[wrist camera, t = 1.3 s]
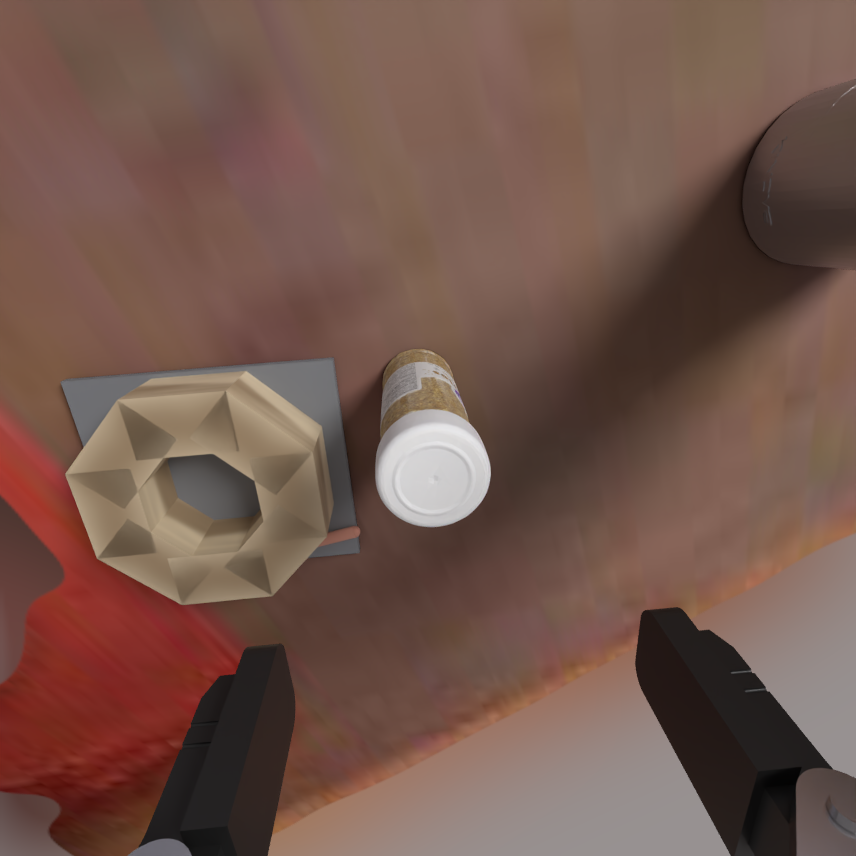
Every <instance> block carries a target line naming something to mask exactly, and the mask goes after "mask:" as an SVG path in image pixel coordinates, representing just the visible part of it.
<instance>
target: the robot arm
mask: <svg viewBox="0 0 856 856" xmlns="http://www.w3.org/2000/svg"><path fill="white" fill-rule="evenodd" d="M742 206H743V213H744V221H745V224H746V226H747V229H748V232H749V234H750V237H751V238H752V239H753V241H754V242H755V244H756V245H757V246H758V248H759V249H760V250H762V251H763V252H764V253H765V254H766V255H768V256H769V257H771V258H773V259H775V260H777V261H780V262H782V263H788V264H794V265H804V266H815V267H827V268H838V269H846V270H856V79H854V80H851V81H848V82H845V83H841V84H838V85H835V86H832V87H829V88H826V89H823V90H820V91H817V92H814V93H813V94H811V95H809V96H807V97H805V98H803V99H801V100H800V101H798V102H797V103H795V104H794V105H793V106H792V107H790V108H789V109H788V110H787V111H785V112H784V113H783V114H782V115H781V116H780V117H779V118H778V119H777V120H776V121H775V123H774V124H773V125H772V126H771V127H770V128H769V129H768V130H767V132H766V134H765V135H764V137H763V138H762V140H761V141H760V143H759V145H758V146H757V148H756V150H755V152H754V155H753V157H752V159H751V161H750V164H749V166H748V169H747V174H746V178H745V182H744V186H743V201H742ZM635 665H636V672H637V677H638V681H639V684H640V686H641V689H642V691H643V693H644V695H645V697H646V699H647V701H648V702H649V704H650V706H651V708H652V710H653V712H654V714H655V715H656V717H657V719H658V721H659V723H660V725H661V727H662V729H663V730H664V732H665V734H666V736H667V738H668V740H669V742H670V743H671V745H672V747H673V749H674V751H675V753H676V754H677V756H678V758H679V760H680V762H681V764H682V766H683V768H684V769H685V771H686V773H687V775H688V777H689V778H690V780H691V782H692V784H693V786H694V788H695V790H696V792H697V794H698V795H699V797H700V799H701V801H702V803H703V805H704V807H705V808H706V810H707V812H708V814H709V816H710V818H711V820H712V821H713V823H714V825H715V827H716V829H717V831H718V833H719V834H720V836H721V838H722V840H723V842H724V844H725V845H726V847H727V849H728V851H729V853H730V855H731V856H856V778H854V777H851V776H849V775H847V774H845V773H842V772H839V771H836V770H833V769H832V767H831V766H830V765H829V764H828V763H827V762H826V761H825V759H824V758H823V757H822V756H821V755H820V753H819V752H818V751H817V750H816V748H815V747H814V746H813V745H812V743H811V742H810V741H809V740H808V739H807V737H806V736H805V735H804V734H803V732H802V731H801V730H800V729H799V727H798V726H797V725H796V724H795V722H794V721H793V720H792V719H791V718H790V716H789V715H788V714H787V713H786V711H785V710H784V709H783V708H782V707H781V705H780V704H779V703H778V702H777V700H776V699H775V698H774V697H773V695H772V694H771V693H770V692H767V691H766V687H765V686H764V684H763V683H762V682H761V681H760V679H759V678H758V677H757V676H756V674H755V673H752V672H751V668H750V667H749V666H748V665H747V664H746V662H745V661H744V660H743V659H742V657H741V656H740V655H739V654H738V652H737V651H736V650H735V649H734V647H732V646H731V645H729V644H728V643H727V642H725V641H724V640H723V639H721V638H720V637H718V636H717V635H715V634H714V633H713V632H712V631H710V630H702V631H699V630H698V629H697V628H696V626H695V625H694V624H693V622H692V621H691V620H690V618H689V617H688V616H687V614H686V613H685V612H684V611H683V610H682V609H680V608H678V607H675V608H665V609H654V610H645V611H643V613H642V615H641V620H640V628H639V636H638V644H637V652H636V661H635ZM294 720H295V694H294V689H293V684H292V680H291V675H290V671H289V666H288V662H287V657H286V653H285V649H284V646H283V645H282V644H273V645H262V646H252V647H247V648H246V649H245V650H244V652H243V654H242V657H241V660H240V663H239V665H238V668H237V671H236V674H234V675H224V676H220V677H219V678H218V679H217V680H216V681H215V683H214V684H213V685H212V686H211V687H210V689H209V690H208V691H207V692H206V693H205V695H204V696H203V697H202V698H201V700H200V703H199V705H198V708H197V710H196V713H195V715H194V717H193V720H192V722H191V728H189V730H188V732H187V734H186V737H185V739H184V742H183V744H182V745H183V747H182V750H180V752H179V754H178V756H177V759H176V761H175V764H174V766H173V769H172V771H171V773H170V776H169V778H168V781H167V783H166V786H165V788H164V791H163V793H162V795H161V798H160V800H159V803H158V805H157V808H156V810H155V812H154V815H153V817H152V820H151V822H150V825H149V827H148V830H147V832H146V834H145V836H144V838H143V840H142V842H141V844H140V845H139V847H138V849H136V850H135V851H133V852H132V853H130V854H129V855H128V856H268V850H269V846H270V841H271V836H272V831H273V826H274V821H275V816H276V811H277V806H278V801H279V796H280V791H281V786H282V781H283V777H284V772H285V767H286V762H287V757H288V752H289V747H290V742H291V737H292V732H293V727H294Z"/></svg>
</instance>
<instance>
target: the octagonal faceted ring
mask: <svg viewBox="0 0 856 856" xmlns="http://www.w3.org/2000/svg"><path fill="white" fill-rule="evenodd" d="M203 454H214V455H216V456H217V457H219V458H220V459H222V460H223V461H225V462H226V463H228V464H229V465H231V466H232V467H234V468H235V469H237V470H239V471H240V472H242V473H243V474H245V475H246V476H248V477H249V478H251V479H252V480H254V481H255V485H256V490H257V494H258V499H259V503H260V508H261V509H260V510H259V512H258V513H257V514H256V515H255V516H252V517H241V518H231V519H220V520H213V519H212V518H210V517H208V516H207V515H205V514H203V513H202V512H200V511H198V510H197V509H195V508H194V507H192V506H190V505H189V504H187V503H185V502H184V501H182V500H181V499H179V498H178V496H177V492H176V489H175V486H174V482H173V479H172V475H171V472H170V468H169V465H168V459H169V458H170V457H181V456H192V455H203ZM65 475H66V478H67V480H68V483H69V486H70V488H71V491H72V493H73V496H74V499H75V501H76V504H77V507H78V509H79V512H80V515H81V517H82V520H83V522H84V525H85V528H86V530H87V533H88V536H89V538H90V541H91V544H92V546H93V549H94V551H95V554H96V557H97V559H99V560H100V561H102V562H104V563H106V564H108V565H110V566H111V567H113V568H115V569H117V570H119V571H121V572H122V573H124V574H126V575H128V576H130V577H132V578H133V579H135V580H137V581H139V582H141V583H143V584H144V585H146V586H148V587H150V588H152V589H154V590H155V591H157V592H159V593H161V594H163V595H165V596H166V597H168V598H170V599H172V600H174V601H176V602H177V603H179V604H181V605H188V604H198V603H208V602H218V601H228V600H238V599H248V598H258V597H268V596H273V595H274V594H275V593H276V592H277V591H278V590H279V588H280V587H281V586H282V585H283V584H284V583H285V582H286V581H287V580H288V579H289V578H290V576H291V575H292V574H293V573H294V572H295V571H296V570H297V569H298V568H299V567H300V566H301V564H302V563H303V562H304V561H305V560H306V559H307V558H308V557H309V556H310V555H311V554H312V552H313V551H314V550H315V549H316V548H317V547H318V546H319V545H320V544H321V543H322V542H323V540H324V539H325V538H326V537H327V534H328V529H329V524H330V519H331V515H332V510H333V505H334V500H333V494H332V488H331V481H330V475H329V469H328V462H327V456H326V450H325V443H324V437H323V430H322V426H321V425H319V424H318V423H317V422H315V421H314V420H313V419H311V418H310V417H309V416H307V415H306V414H304V413H303V412H302V411H300V410H299V409H298V408H296V407H295V406H293V405H292V404H291V403H289V402H288V401H287V400H285V399H284V398H283V397H281V396H280V395H278V394H277V393H276V392H274V391H273V390H272V389H270V388H269V387H267V386H266V385H265V384H263V383H262V382H261V381H259V380H258V379H257V378H255V377H254V376H252V375H251V374H250V373H248V372H247V371H239V372H227V373H215V374H203V375H190V376H178V377H166V378H154V379H150V380H148V381H147V382H145V383H144V384H142V385H140V386H139V387H137V388H136V389H134V390H132V391H131V392H129V393H128V394H126V395H124V396H123V397H121V398H120V399H118V400H117V401H116V402H115V404H114V405H113V407H112V408H111V410H110V411H109V412H108V414H107V415H106V417H105V418H104V420H103V421H102V422H101V424H100V425H99V427H98V428H97V430H96V431H95V432H94V434H93V435H92V437H91V438H90V440H89V441H88V442H87V444H86V445H85V447H84V448H83V450H82V451H81V452H80V454H79V455H78V457H77V458H76V460H75V461H74V462H73V464H72V465H71V467H70V468H69V470H68V471H67V472H66V474H65Z"/></svg>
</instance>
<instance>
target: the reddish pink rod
mask: <svg viewBox="0 0 856 856" xmlns="http://www.w3.org/2000/svg"><path fill="white" fill-rule="evenodd" d="M359 535H360V528H359V527H357V526H351V527H347V528H343V529H339V530H335V531H331V532H328V534H327V537H326V538H325V539H324V540H323V542H322V543H321V544H320V545H319V546H318V547H320V546H324V545H328V544H332V543H336V542H340V541H344V540H348V539H352V538H356V537H358V536H359Z"/></svg>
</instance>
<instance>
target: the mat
mask: <svg viewBox="0 0 856 856" xmlns="http://www.w3.org/2000/svg"><path fill="white" fill-rule="evenodd" d="M239 371H247V372H248V373H250V374H251V375H252V376H254V377H255V378H257V379H258V380H259V381H261V382H262V383H263V384H265V385H266V386H267V387H269V388H270V389H272V390H273V391H274V392H276V393H277V394H278V395H280V396H281V397H283V398H284V399H285V400H287V401H288V402H289V403H291V404H292V405H293V406H295V407H296V408H298V409H299V410H300V411H302V412H303V413H304V414H306V415H307V416H309V417H310V418H311V419H313V420H314V421H315V422H317V423H318V424H319V425H321V426H322V430H323V437H324V443H325V450H326V456H327V462H328V469H329V475H330V481H331V488H332V494H333V500H334V505H333V510H332V515H331V519H330V524H329V529H328V532H331V531H335V530H339V529H343V528H347V527H351V526H357V522H356V514H355V507H354V500H353V493H352V486H351V479H350V471H349V464H348V457H347V450H346V443H345V436H344V428H343V421H342V414H341V407H340V400H339V393H338V386H337V378H336V371H335V364H334V357H333V358H321V359H308V360H296V361H284V362H271V363H259V364H247V365H234V366H222V367H210V368H197V369H185V370H173V371H160V372H148V373H136V374H123V375H111V376H99V377H86V378H74V379H66V380H64V381H61V385H62V388H63V390H64V393H65V396H66V399H67V402H68V404H69V407H70V410H71V413H72V416H73V418H74V421H75V424H76V427H77V430H78V433H79V435H80V438H81V441H82V444H83V447H85V445H86V444H87V442H88V441H89V440H90V438H91V437H92V435H93V434H94V432H95V431H96V430H97V428H98V427H99V425H100V424H101V422H102V421H103V420H104V418H105V417H106V415H107V414H108V412H109V411H110V410H111V408H112V407H113V405H114V404H115V402H116V401H117V400H118V399H120V398H121V397H123V396H124V395H126V394H128V393H129V392H131V391H132V390H134V389H136V388H137V387H139V386H140V385H142V384H144V383H145V382H147V381H148V380H150V379H154V378H166V377H178V376H190V375H203V374H215V373H227V372H239ZM168 465H169V468H170V472H171V475H172V479H173V482H174V486H175V489H176V492H177V496H178V498H179V499H181V500H182V501H184V502H185V503H187V504H189V505H190V506H192V507H194V508H195V509H197V510H198V511H200V512H202V513H203V514H205V515H207V516H208V517H210V518H212V519H213V520H220V519H231V518H241V517H252V516H255V515H256V514H257V513H258V512H259V510H260V509H261V508H260V503H259V499H258V494H257V490H256V485H255V481H254V480H252V479H251V478H249V477H248V476H246V475H245V474H243V473H242V472H240V471H239V470H237V469H235V468H234V467H232V466H231V465H229V464H228V463H226V462H225V461H223V460H222V459H220V458H219V457H217V456H216V455H214V454H203V455H192V456H181V457H170V458H169V459H168ZM354 553H360V543H359V536H358V537H356V538H352V539H348V540H344V541H340V542H336V543H332V544H328V545H324V546H320V547H317V548H316V549H315V550H314V551H313V552H312V554H311V555H310V556H309V557H308V558H313V557H323V556H333V555H344V554H354Z"/></svg>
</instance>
